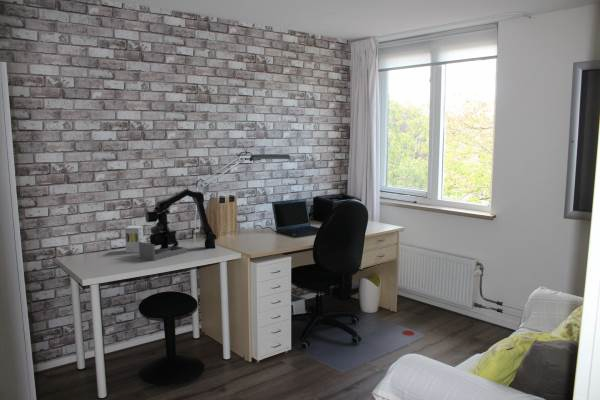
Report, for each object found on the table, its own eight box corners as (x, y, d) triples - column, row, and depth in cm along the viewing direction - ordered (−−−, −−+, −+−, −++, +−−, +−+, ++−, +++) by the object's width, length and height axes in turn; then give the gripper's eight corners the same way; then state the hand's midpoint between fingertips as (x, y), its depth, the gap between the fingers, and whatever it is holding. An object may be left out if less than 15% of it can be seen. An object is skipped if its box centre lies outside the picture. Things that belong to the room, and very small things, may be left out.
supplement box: (125, 252, 327) (124, 227, 325) (130, 249, 337) (128, 225, 334) (140, 252, 327) (138, 227, 325) (144, 249, 336) (143, 225, 334)
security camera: (180, 246, 324) (179, 231, 323) (154, 251, 311) (153, 235, 310) (175, 244, 329) (174, 230, 328) (149, 249, 316) (148, 234, 315)
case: (172, 249, 335) (172, 235, 333) (187, 252, 326) (186, 237, 325) (139, 257, 313) (138, 242, 312) (153, 260, 305) (152, 244, 304)
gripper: (143, 221, 317) (144, 245, 319) (161, 223, 306) (163, 248, 308) (157, 218, 325) (158, 241, 327) (176, 221, 314) (177, 245, 316)
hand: (164, 244), depth 320 cm, fingers closed on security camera, 7 cm apart
